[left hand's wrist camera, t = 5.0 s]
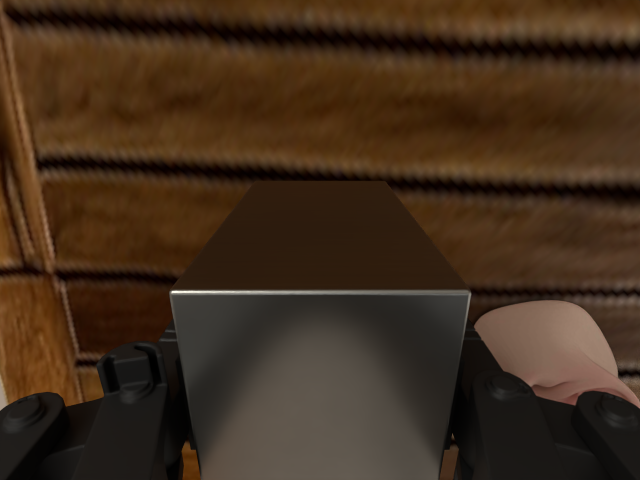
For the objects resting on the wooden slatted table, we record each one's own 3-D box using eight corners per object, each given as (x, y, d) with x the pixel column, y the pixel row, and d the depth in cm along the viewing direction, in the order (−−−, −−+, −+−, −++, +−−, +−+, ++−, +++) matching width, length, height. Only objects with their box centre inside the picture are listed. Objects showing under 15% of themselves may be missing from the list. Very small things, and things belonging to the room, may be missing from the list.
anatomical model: (464, 360, 26) (631, 295, 24) (445, 327, 29) (589, 269, 28) (516, 477, 30) (662, 429, 28) (495, 435, 34) (622, 391, 32)
